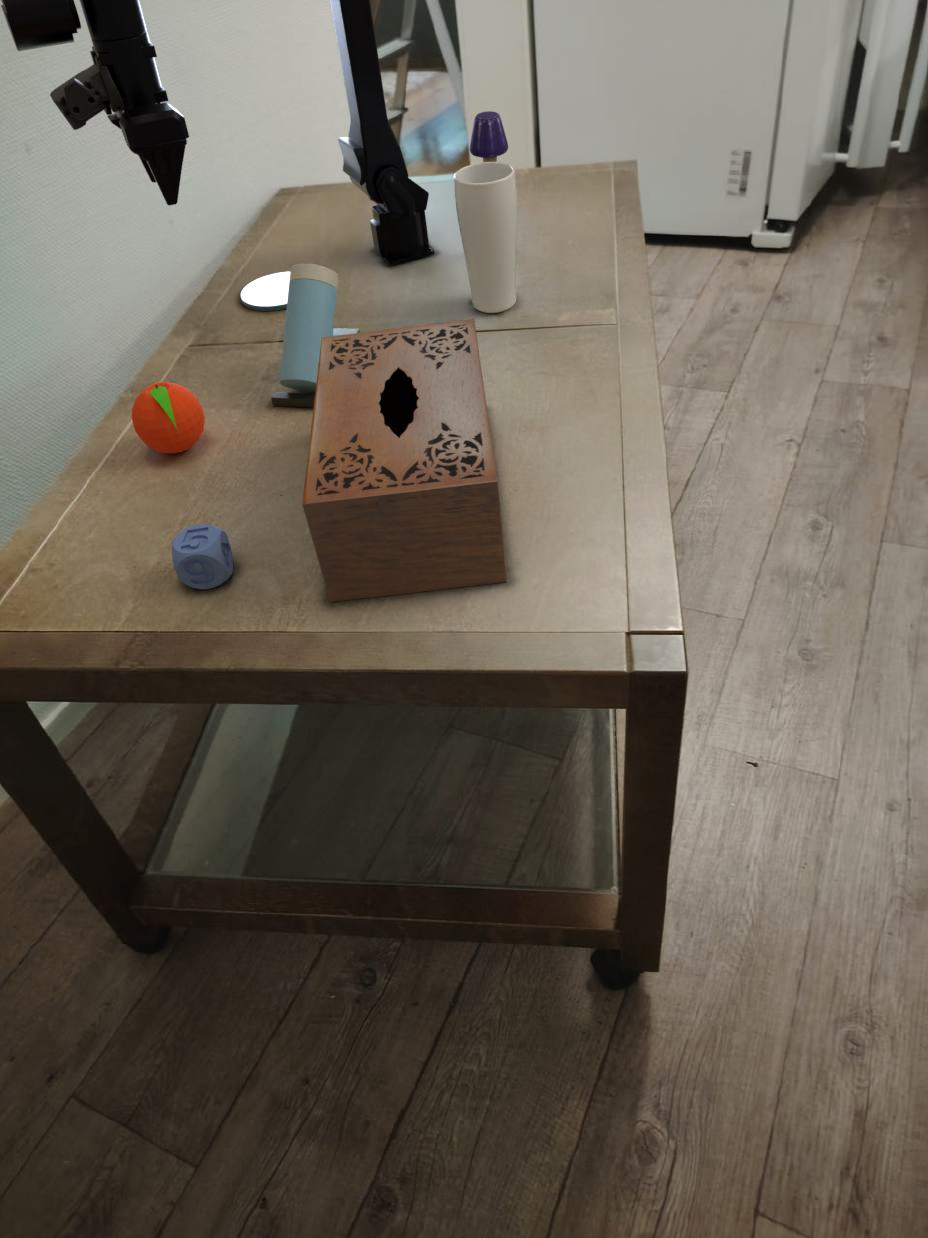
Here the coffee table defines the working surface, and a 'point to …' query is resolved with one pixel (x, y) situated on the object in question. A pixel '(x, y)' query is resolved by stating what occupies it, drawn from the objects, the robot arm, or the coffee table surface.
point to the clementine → (168, 417)
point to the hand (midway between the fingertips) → (164, 192)
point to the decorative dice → (202, 556)
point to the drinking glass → (488, 232)
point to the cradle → (304, 398)
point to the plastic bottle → (307, 324)
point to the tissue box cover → (403, 464)
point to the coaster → (267, 292)
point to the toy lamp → (488, 137)
